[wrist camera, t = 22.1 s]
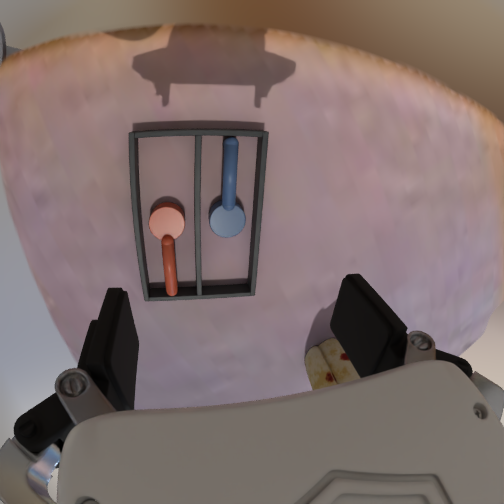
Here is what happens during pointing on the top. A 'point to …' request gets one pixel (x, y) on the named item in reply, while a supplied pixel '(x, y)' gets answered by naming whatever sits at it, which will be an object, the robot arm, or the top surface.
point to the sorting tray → (199, 290)
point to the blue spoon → (228, 196)
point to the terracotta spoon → (168, 238)
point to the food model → (329, 365)
